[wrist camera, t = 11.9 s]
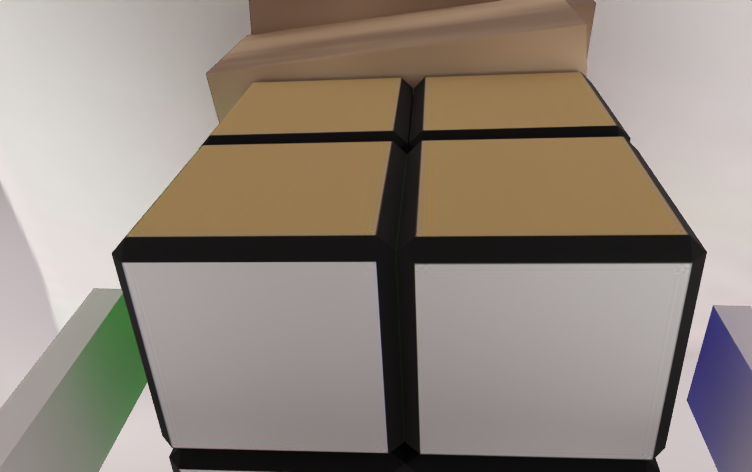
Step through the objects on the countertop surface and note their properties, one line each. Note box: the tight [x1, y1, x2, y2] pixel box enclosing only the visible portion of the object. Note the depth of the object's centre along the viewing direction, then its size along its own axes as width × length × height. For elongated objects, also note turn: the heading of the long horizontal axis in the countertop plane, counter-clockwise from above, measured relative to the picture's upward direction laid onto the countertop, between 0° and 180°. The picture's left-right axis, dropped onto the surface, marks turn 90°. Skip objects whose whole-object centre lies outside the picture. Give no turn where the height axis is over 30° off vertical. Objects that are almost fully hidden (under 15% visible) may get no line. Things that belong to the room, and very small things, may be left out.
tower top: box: [206, 0, 587, 124], centre depth 24 cm, size 11×11×5 cm
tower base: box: [249, 0, 596, 59], centre depth 28 cm, size 12×12×5 cm
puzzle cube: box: [112, 72, 707, 472], centre depth 18 cm, size 10×10×10 cm
